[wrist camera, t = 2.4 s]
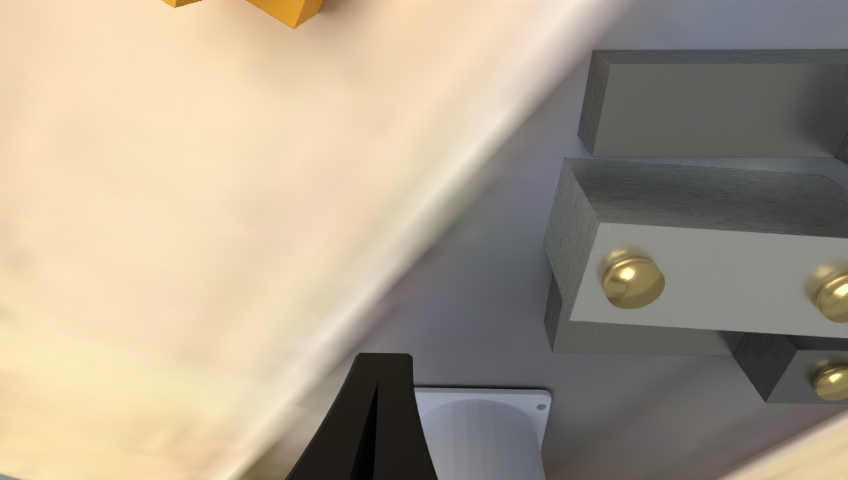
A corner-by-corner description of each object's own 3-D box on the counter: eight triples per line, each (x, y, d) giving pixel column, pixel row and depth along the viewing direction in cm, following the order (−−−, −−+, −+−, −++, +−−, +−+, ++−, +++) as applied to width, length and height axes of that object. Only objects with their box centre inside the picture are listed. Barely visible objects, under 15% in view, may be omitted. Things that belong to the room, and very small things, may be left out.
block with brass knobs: (769, 255, 20) (865, 349, 16) (542, 240, 20) (572, 330, 16) (817, 172, 18) (945, 253, 14) (563, 155, 18) (605, 231, 13)
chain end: (795, 325, 22) (875, 413, 18) (544, 321, 23) (567, 407, 19) (958, 49, 15) (1146, 90, 11) (593, 50, 16) (646, 91, 12)
